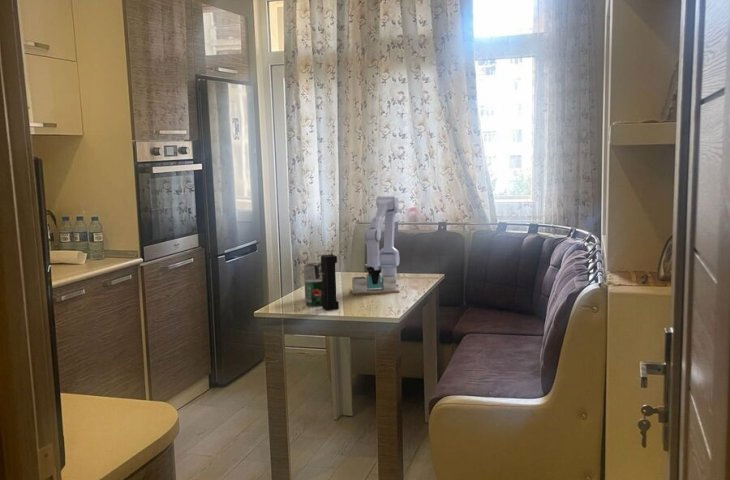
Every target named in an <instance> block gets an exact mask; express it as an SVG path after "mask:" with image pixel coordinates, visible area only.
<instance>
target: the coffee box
mask: <svg viewBox="0 0 730 480" xmlns="http://www.w3.org/2000/svg"><path fill="white" fill-rule="evenodd" d="M303 271H304V273H303V274H304V275H303V276H304V280H303V281H305V280H308V279H322V274H321V262H313V263H311V262H309V263H307V264H305V265H304V266H303ZM304 300H305V302H306V285H305V284H304Z"/></svg>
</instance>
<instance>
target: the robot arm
mask: <svg viewBox="0 0 730 480" xmlns="http://www.w3.org/2000/svg"><path fill="white" fill-rule="evenodd" d="M399 204H400V203H399V198H398V196H397V195H385V196H384V195H378V196H377V197H376V199H375V205H376V208H377V209H376V212H375V216H374V217H373V218H372V219H371V221H370V224H369V226H368V228H367V229H366V230H365V231H364V241H365V245H366V259H367V260H366V261H367V262H366V263H365V264H364V266H365V267H366V271H367V274H371V277H372V283H373V284H378V279H379V275H381V276H383V275H394V276H396V286H399V285H400V284H399V283H398V280H397V278H398V277H397V267H399V265H400V261H401V260H400V259H401V258H400V251H399V250H398V249H397V248H395V245H394V244H395V221H396V219H395V218H396V214H398V213H399ZM383 219H384V220H383ZM383 225H384V233H383V234H384V237H383V238H384V239H383V247H382V248H381V249H380V240H381V237H382V228H383ZM381 286H382V280H381Z"/></svg>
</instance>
